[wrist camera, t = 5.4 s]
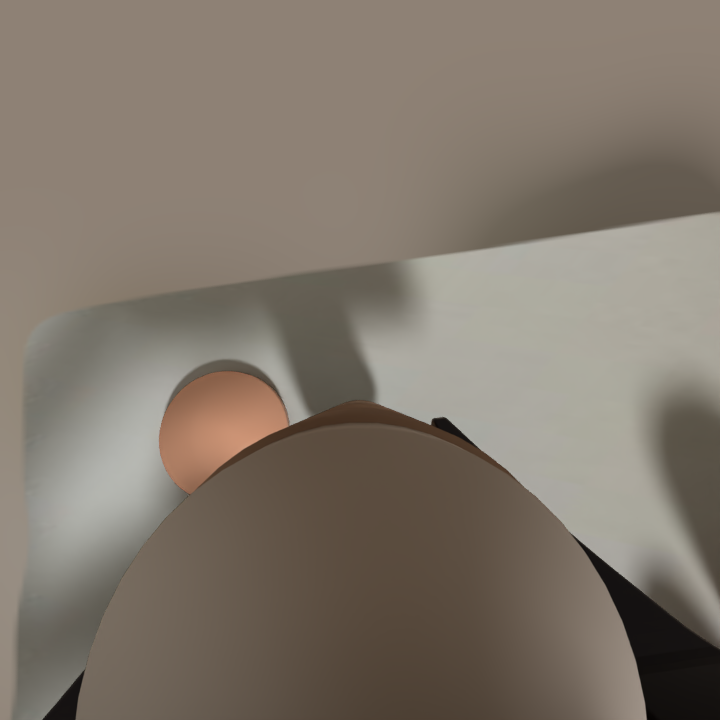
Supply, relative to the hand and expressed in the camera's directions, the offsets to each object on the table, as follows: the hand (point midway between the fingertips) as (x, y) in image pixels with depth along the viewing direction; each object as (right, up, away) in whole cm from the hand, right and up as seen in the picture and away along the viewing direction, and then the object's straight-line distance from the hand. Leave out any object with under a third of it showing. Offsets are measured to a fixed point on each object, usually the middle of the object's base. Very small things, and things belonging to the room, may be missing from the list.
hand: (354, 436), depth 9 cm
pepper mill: (0, -2, +6) cm, 7 cm away
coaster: (-8, -2, +9) cm, 13 cm away
